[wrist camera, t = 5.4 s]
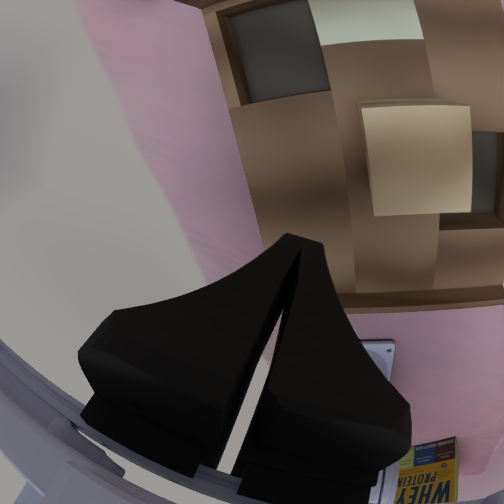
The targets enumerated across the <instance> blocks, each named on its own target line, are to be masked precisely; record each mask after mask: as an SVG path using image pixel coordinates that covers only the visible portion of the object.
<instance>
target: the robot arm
mask: <svg viewBox="0 0 504 504" xmlns="http://www.w3.org/2000/svg"><path fill="white" fill-rule="evenodd" d="M282 310H283V313H282V318H281V322H280V327H279V331H278V336H277V341H276V345H275V349H274V354H273V358H272V362H271V366H270V369H269V373H268V376H267V379H266V381H265V384H264V387H263V390H262V393H261V395H260V398H259V401H258V404H257V406H256V409H255V412H254V415H253V417H252V420H251V423H250V425H249V428H248V431H247V433H246V436H245V438H244V441H243V444H242V446H241V449H240V451H239V454H238V456H237V459H236V461H235V464H234V467H233V469H232V471H231V474H230V475H229V474H226V473H224V472H221V471H218V470H216V469H217V467H218V464H219V462H220V460H221V457H222V455H223V452H224V450H225V447H226V444H227V442H228V439H229V437H230V434H231V432H232V429H233V427H234V424H235V422H236V419H237V416H238V414H239V411H240V409H241V406H242V403H243V401H244V398H245V395H246V393H247V390H248V388H249V385H250V382H251V380H252V377H253V374H254V371H255V369H256V366H257V364H258V361H259V359H260V357H261V355H262V353H263V351H264V349H265V347H266V344H267V342H268V340H269V338H270V336H271V334H272V332H273V330H274V327H275V325H276V323H277V321H278V319H279V317H280V315H281V312H282ZM394 351H395V343H394V342H393V341H360V340H359V338H358V337H357V335H356V333H355V331H354V330H353V328H352V326H351V324H350V322H349V320H348V318H347V316H346V314H345V312H344V309H343V307H342V305H341V302H340V300H339V297H338V295H337V292H336V290H335V287H334V284H333V281H332V278H331V275H330V271H329V268H328V264H327V260H326V255H325V249H324V245H323V244H322V243H321V242H317V241H314V240H311V239H307V238H304V237H301V236H297V235H294V234H290V233H285V234H283V235H282V236H281V237H280V238H279V239H278V240H277V241H276V242H275V243H274V244H273V245H272V246H270V247H269V248H268V249H267V250H266V251H264V252H263V253H262V254H260V255H259V256H258V257H256V258H255V259H254V260H252V261H251V262H249V263H247V264H246V265H244V266H243V267H241V268H240V269H238V270H237V271H235V272H233V273H231V274H230V275H228V276H226V277H224V278H222V279H220V280H218V281H216V282H214V283H212V284H210V285H207V286H205V287H203V288H200V289H198V290H195V291H193V292H190V293H187V294H184V295H182V296H178V297H175V298H171V299H168V300H164V301H160V302H157V303H152V304H148V305H142V306H137V307H132V308H126V309H120V310H114V311H113V312H112V313H111V314H110V315H109V316H108V317H107V318H106V319H105V320H104V321H103V322H102V323H101V324H100V325H99V327H98V328H97V329H96V330H95V331H94V333H93V334H92V335H91V336H90V337H89V338H88V340H87V341H86V342H85V343H84V344H83V346H82V347H81V348H80V349H79V351H78V361H79V364H80V366H81V369H82V371H83V372H84V375H85V376H86V378H87V380H88V382H89V383H90V385H91V387H92V389H93V390H94V392H95V393H94V395H93V396H92V397H91V399H90V400H89V402H88V403H87V405H86V406H85V405H84V404H82V403H81V402H79V401H77V400H76V399H75V398H73V397H72V396H70V395H68V394H67V393H66V392H64V391H63V390H62V389H60V388H59V387H57V386H56V385H55V384H53V383H52V382H51V381H49V380H48V379H47V378H45V377H44V376H43V375H42V374H40V373H39V372H38V371H36V370H35V369H34V368H33V367H31V366H30V365H29V364H28V363H26V362H25V361H24V360H23V359H22V358H21V357H20V356H18V355H17V354H16V353H15V352H14V351H13V350H12V349H10V348H9V347H8V346H7V345H6V344H5V343H4V342H3V341H2V340H1V339H0V451H1V453H2V454H3V455H4V457H5V458H6V459H7V460H8V461H9V462H10V463H11V465H12V466H13V467H14V468H15V469H16V470H17V471H18V472H19V473H20V474H21V475H22V476H23V477H24V478H25V479H26V480H27V483H26V484H25V486H24V487H23V489H22V491H21V493H20V494H19V496H18V498H17V499H16V501H15V502H14V504H176V503H174V502H171V501H169V500H167V499H165V498H162V497H160V496H158V495H156V494H153V493H151V492H149V491H147V490H145V489H143V488H141V487H139V486H137V485H135V484H133V483H131V482H129V481H127V480H125V479H123V476H124V474H125V470H124V469H123V468H122V467H120V466H119V465H117V464H116V463H115V462H113V460H111V459H110V458H109V457H108V456H107V455H106V453H105V451H104V450H102V449H100V448H99V447H98V446H96V445H95V444H93V443H92V442H91V441H89V440H88V439H87V438H85V437H84V436H83V435H81V434H80V433H79V432H78V430H79V431H81V432H82V433H84V434H85V435H87V436H88V437H90V438H91V439H93V440H94V441H96V442H98V443H99V444H101V445H102V446H104V447H106V448H107V449H109V450H111V451H113V452H114V453H116V454H118V455H120V456H121V457H123V458H125V459H127V460H129V461H130V462H132V463H134V464H136V465H138V466H140V467H142V468H144V469H146V470H148V471H150V472H152V473H154V474H156V475H159V476H161V477H163V478H165V479H167V480H169V481H172V482H174V483H177V484H179V485H181V486H184V487H186V488H189V489H191V490H194V491H196V492H199V493H202V494H204V495H207V496H210V497H213V498H216V499H219V500H221V501H225V502H228V503H231V504H394V500H395V495H396V490H397V484H398V476H399V460H400V459H401V458H402V457H404V456H405V455H406V454H407V453H408V452H409V450H410V448H411V437H412V421H411V413H410V405H409V403H408V402H407V401H406V400H405V399H404V398H403V397H402V395H401V394H400V393H399V392H398V391H397V390H396V389H395V387H394V386H393V385H392V384H391V383H390V382H389V381H390V376H391V370H392V364H393V358H394ZM77 429H78V430H77ZM438 504H504V490H501V491H498V492H496V493H494V494H492V495H489V496H487V497H486V498H484V499H478V500H471V501H463V502H452V503H438Z"/></svg>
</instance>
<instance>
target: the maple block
mask: <svg viewBox="0 0 504 504" xmlns="http://www.w3.org/2000/svg"><path fill="white" fill-rule="evenodd" d="M358 107H359V113H360V119H361V125H362V131H363V138H364V145H365V152H366V160H367V169H368V178H369V185H370V192H371V198H372V205H373V213H374V216H391V215H410V214H432V213H457V212H471V199H472V130H471V116H470V106H468V105H464V104H461V103H458V102H454V101H450V100H447V99H443V98H439V97H417V98H390V99H374V100H361V101H358Z"/></svg>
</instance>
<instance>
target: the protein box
mask: <svg viewBox="0 0 504 504" xmlns="http://www.w3.org/2000/svg"><path fill="white" fill-rule="evenodd" d="M458 473H459V460H458V452H457V444H456V437H453V438H449V439H445V440H441V441H437V442H433V443H428V444H423V445H419V446H413V447H411V448H410V450H409V452H408V453H407V454H406V455H405V456H404V457H402V458H401V459H400V460H399V476H398V484H397V490H396V495H395V500H394V504H438V503H452V502H457V497H458Z"/></svg>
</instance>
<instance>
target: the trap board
mask: <svg viewBox="0 0 504 504" xmlns="http://www.w3.org/2000/svg"><path fill="white" fill-rule="evenodd" d="M174 1H177V2H181V3H184V4H187V5H190V6H193V7H197V8H199V9H201V10H202V13H203V17H204V20H205V24H206V28H207V31H208V35H209V38H210V42H211V46H212V49H213V53H214V57H215V60H216V64H217V68H218V72H219V75H220V79H221V83H222V86H223V90H224V94H225V98H226V101H227V105H228V109H229V113H230V116H231V120H232V124H233V128H234V132H235V135H236V139H237V143H238V147H239V151H240V155H241V159H242V162H243V166H244V170H245V174H246V178H247V182H248V186H249V190H250V194H251V198H252V201H253V205H254V209H255V213H256V217H257V221H258V225H259V229H260V233H261V237H262V241H263V245H264V249H265V251H266V250H267V249H268V248H269V247H270V246H272V245H273V244H274V243H275V242H276V241H277V240H278V239H279V238H280V237H281V236H282V235H283V234H285V233H290V234H294V235H297V236H301V237H304V238H307V239H311V240H314V241H317V242H321V243H322V244H323V245H324V249H325V255H326V260H327V264H328V268H329V271H330V275H331V278H332V281H333V284H334V287H335V290H336V292H337V295H338V297H339V300H340V302H341V305H342V307H343V309H344V312H345V314H363V313H395V312H416V311H434V310H449V309H462V308H474V307H484V306H494V305H504V288H503V286H502V283H503V280H504V11H503V8H502V5H501V1H500V0H174ZM417 97H439V98H443V99H447V100H450V101H454V102H458V103H461V104H464V105H468V106H470V116H471V130H472V199H471V212H457V213H432V214H410V215H391V216H374V213H373V205H372V198H371V192H370V185H369V178H368V169H367V160H366V152H365V145H364V138H363V131H362V125H361V119H360V113H359V107H358V101H361V100H374V99H390V98H417ZM282 313H283V310H282V312H281V314H282Z"/></svg>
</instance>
